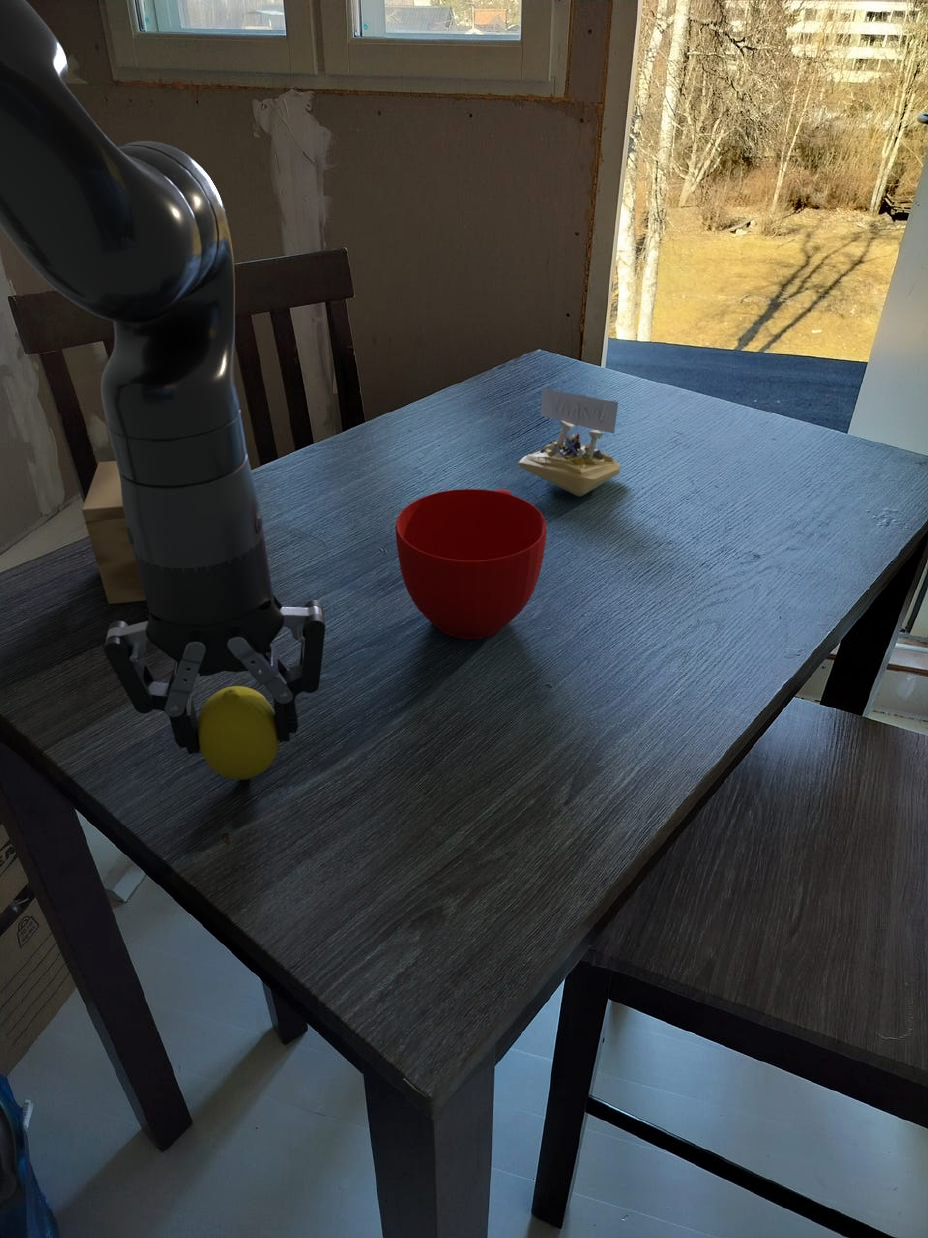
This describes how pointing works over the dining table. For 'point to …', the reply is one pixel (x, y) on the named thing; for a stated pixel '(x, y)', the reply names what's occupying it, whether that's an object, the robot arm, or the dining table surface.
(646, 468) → the dining table surface
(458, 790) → the dining table surface
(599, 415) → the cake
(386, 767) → the dining table surface
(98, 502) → the wooden cube
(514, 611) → the ceramic cup
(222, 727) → the lemon
